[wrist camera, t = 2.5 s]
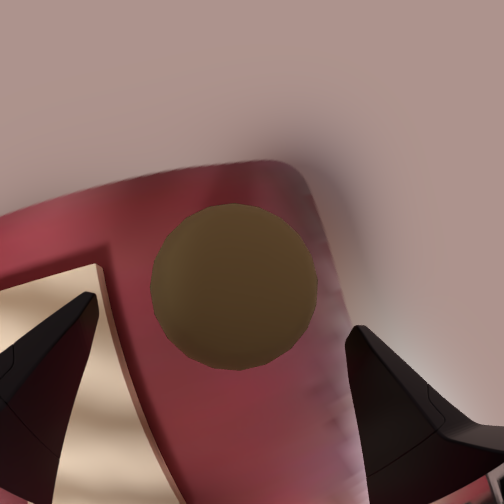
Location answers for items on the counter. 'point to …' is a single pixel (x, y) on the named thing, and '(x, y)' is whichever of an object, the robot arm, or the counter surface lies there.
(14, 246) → the counter surface
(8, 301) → the birch board
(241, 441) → the counter surface
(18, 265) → the counter surface
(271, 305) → the cork
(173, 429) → the counter surface
